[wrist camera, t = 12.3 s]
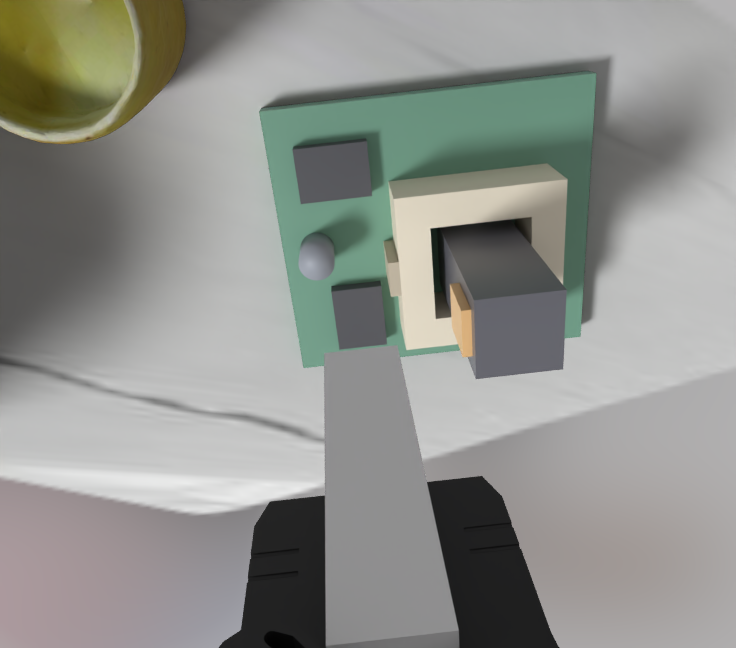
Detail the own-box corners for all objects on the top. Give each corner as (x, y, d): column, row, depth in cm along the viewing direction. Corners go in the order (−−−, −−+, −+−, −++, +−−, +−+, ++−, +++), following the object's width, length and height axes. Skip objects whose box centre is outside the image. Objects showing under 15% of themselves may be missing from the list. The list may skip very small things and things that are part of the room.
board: (304, 358, 42) (301, 398, 38) (261, 108, 35) (251, 123, 31) (574, 328, 42) (600, 364, 38) (588, 70, 35) (623, 81, 31)
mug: (177, -152, 28) (76, -91, 21) (230, 76, 35) (168, 177, 28) (-72, -135, 30) (-241, -74, 23) (27, 79, 37) (-77, 174, 30)
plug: (432, 283, 39) (466, 380, 29) (428, 221, 37) (463, 301, 27) (504, 275, 39) (563, 369, 29) (504, 212, 37) (566, 289, 27)
